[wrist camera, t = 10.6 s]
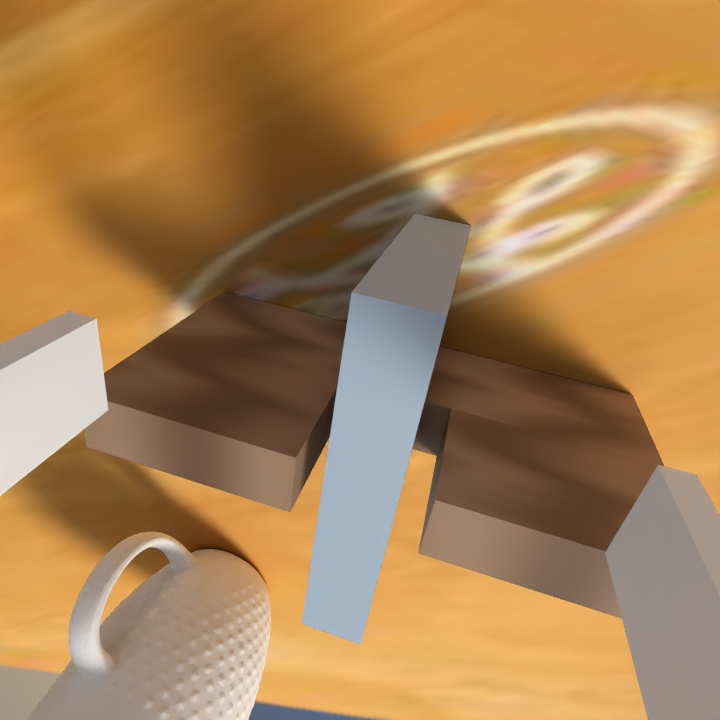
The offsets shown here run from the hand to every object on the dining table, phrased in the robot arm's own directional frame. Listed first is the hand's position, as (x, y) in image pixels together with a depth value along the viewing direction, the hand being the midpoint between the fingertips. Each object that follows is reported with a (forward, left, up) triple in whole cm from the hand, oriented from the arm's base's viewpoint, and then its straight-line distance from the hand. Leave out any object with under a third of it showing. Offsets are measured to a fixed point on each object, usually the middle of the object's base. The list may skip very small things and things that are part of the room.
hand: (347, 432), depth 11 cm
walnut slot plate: (0, -4, -12) cm, 13 cm away
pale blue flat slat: (0, -4, -12) cm, 13 cm away
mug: (-10, -25, -12) cm, 30 cm away
